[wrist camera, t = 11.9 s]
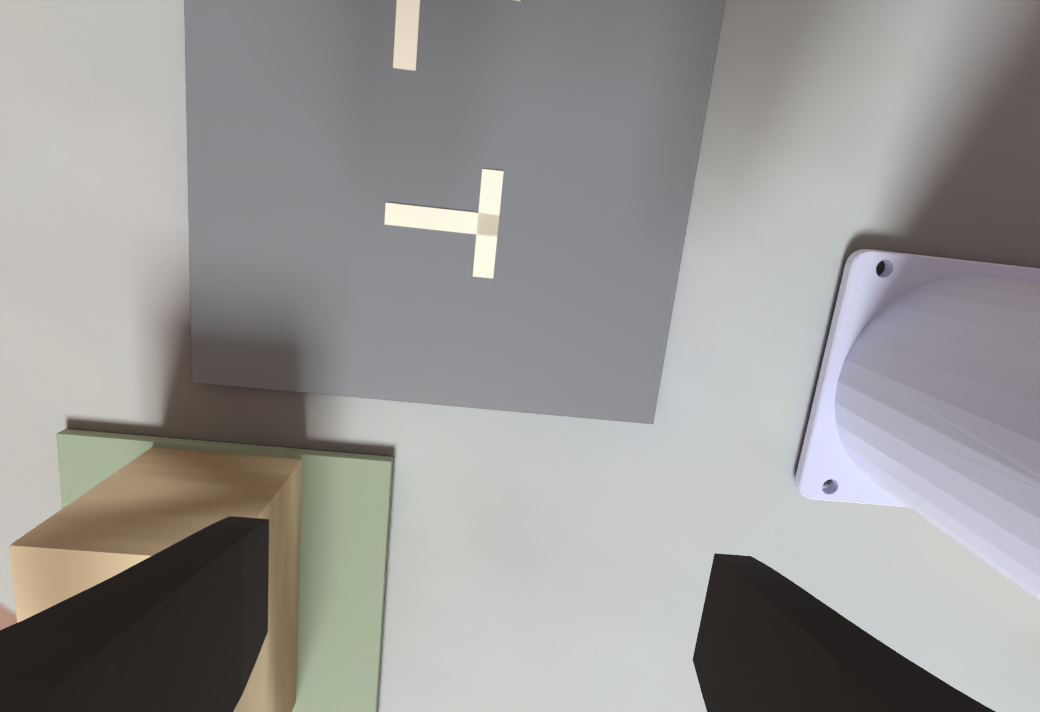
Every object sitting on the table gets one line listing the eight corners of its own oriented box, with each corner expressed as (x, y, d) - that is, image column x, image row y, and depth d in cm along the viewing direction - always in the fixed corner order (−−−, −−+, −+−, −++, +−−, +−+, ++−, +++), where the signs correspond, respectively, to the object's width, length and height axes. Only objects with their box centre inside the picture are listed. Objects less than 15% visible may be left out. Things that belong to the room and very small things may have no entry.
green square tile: (393, 456, 19) (391, 461, 19) (376, 716, 21) (374, 726, 21) (65, 428, 18) (56, 433, 18) (85, 700, 21) (77, 709, 20)
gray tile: (748, -168, 15) (755, -179, 15) (649, 420, 19) (653, 424, 19) (187, -256, 14) (177, -270, 14) (198, 378, 18) (191, 382, 18)
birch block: (302, 459, 18) (223, 560, 13) (296, 701, 21) (226, 874, 15) (152, 446, 18) (9, 545, 13) (161, 693, 20) (41, 866, 15)
